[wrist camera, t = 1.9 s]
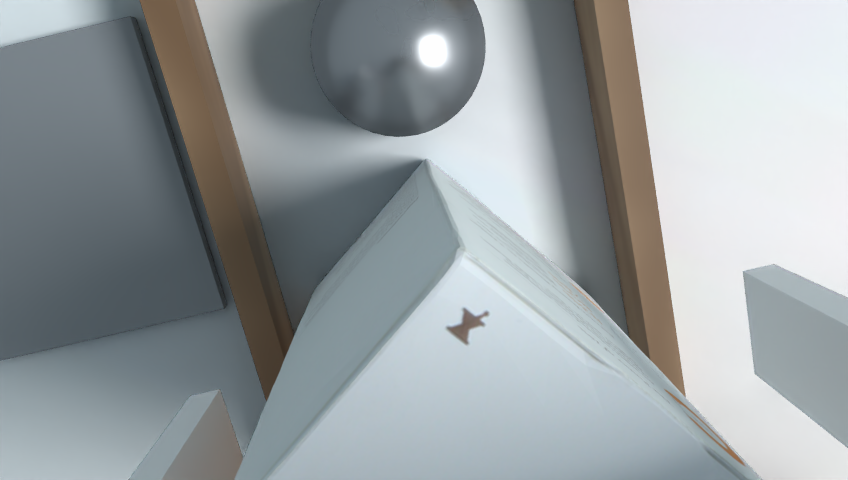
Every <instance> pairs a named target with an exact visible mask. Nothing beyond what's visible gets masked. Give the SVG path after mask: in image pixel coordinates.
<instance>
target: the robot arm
mask: <svg viewBox="0 0 848 480" xmlns="http://www.w3.org/2000/svg"><path fill="white" fill-rule="evenodd" d="M743 277H744V285H745V294H746V303H747V311H748V320H749V329H750V337H751V346H752V355H753V363H754V372H755V374H756V375H757V376H758V377H759V378H761V379H762V380H763V381H764V382H766V383H767V384H768V385H770V386H771V387H772V388H773V389H775V390H776V391H777V392H778V393H780V394H781V395H782V396H783V397H785V398H786V399H787V400H788V401H790V402H791V403H792V404H793V405H795V406H796V407H797V408H798V409H800V410H801V411H802V412H803V413H805V414H806V415H807V416H808V417H810V418H811V419H812V420H813V421H815V422H816V423H817V424H818V425H820V426H821V427H822V428H823V429H825V430H826V431H827V432H828V433H830V434H831V435H832V436H833V437H835V438H836V439H837V440H838V441H840V442H841V443H842V444H843V445H845V446H846V447H847V448H848V298H847V297H845V296H843V295H841V294H838V293H836V292H834V291H832V290H830V289H827V288H825V287H823V286H821V285H819V284H816V283H814V282H812V281H810V280H808V279H805V278H803V277H801V276H799V275H797V274H795V273H792V272H790V271H788V270H786V269H784V268H781V267H779V266H777V265H775V264H773V265H769V266H764V267H760V268H755V269H751V270H746V271H743ZM242 461H243V456H242V453H241V450H240V447H239V444H238V441H237V438H236V435H235V432H234V429H233V426H232V423H231V420H230V417H229V415H228V412H227V409H226V406H225V403H224V400H223V397H222V394H221V391H220V389H218V390H213V391H209V392H204V393H200V394H195V395H191V396H190V397H189V398H188V399H187V401H186V402H185V403H184V405H183V406H182V408H181V409H180V410H179V412H178V413H177V414H176V416H175V417H174V418H173V420H172V421H171V423H170V424H169V425H168V427H167V428H166V429H165V431H164V432H163V433H162V435H161V436H160V437H159V439H158V440H157V442H156V443H155V444H154V446H153V447H152V448H151V450H150V451H149V452H148V454H147V455H146V457H145V458H144V459H143V461H142V462H141V463H140V465H139V466H138V467H137V469H136V470H135V472H134V473H133V474H132V476H131V477H130V478H129V480H234V479H235V477H236V474H237V472H238V470H239V467H240V465H241V463H242Z"/></svg>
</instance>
